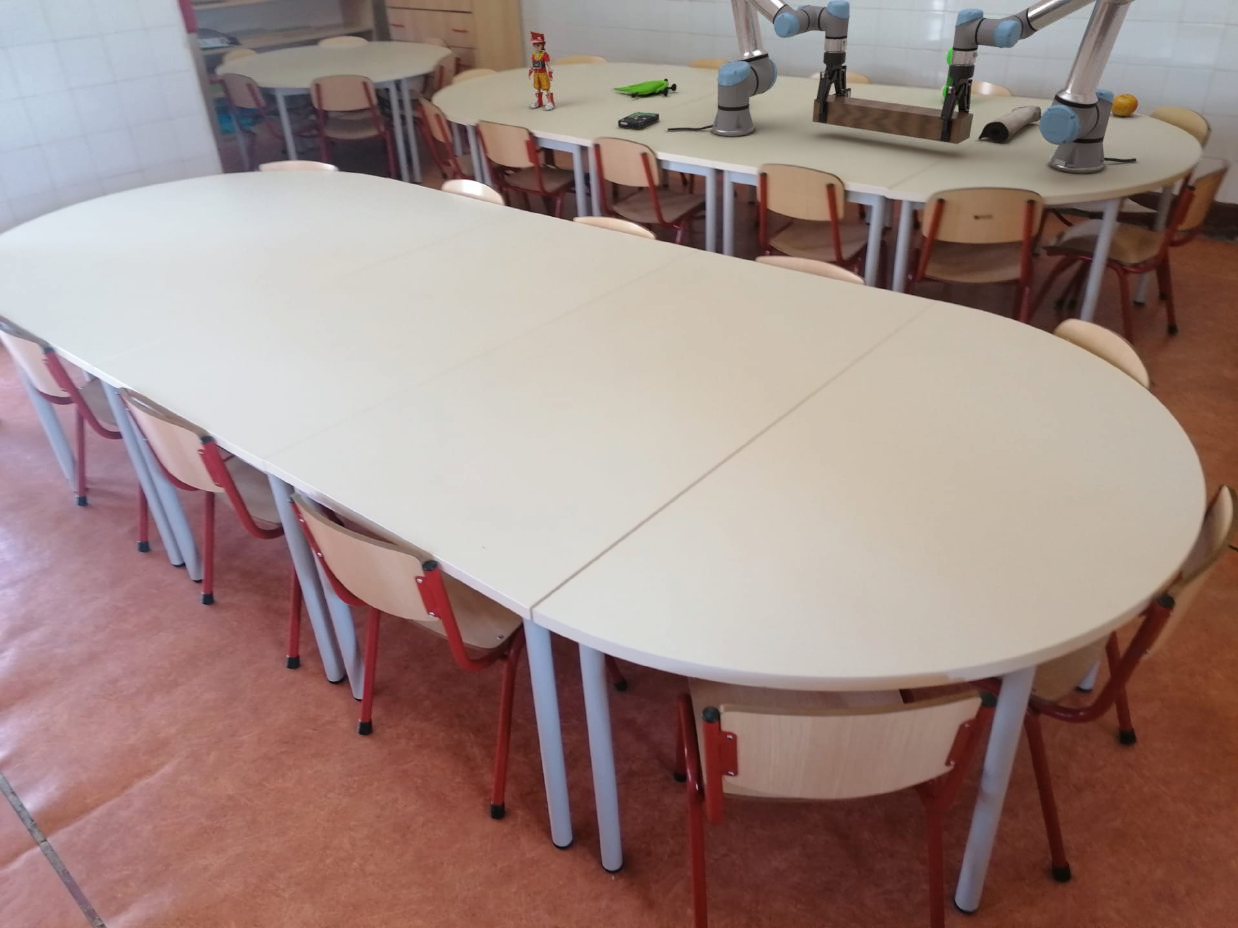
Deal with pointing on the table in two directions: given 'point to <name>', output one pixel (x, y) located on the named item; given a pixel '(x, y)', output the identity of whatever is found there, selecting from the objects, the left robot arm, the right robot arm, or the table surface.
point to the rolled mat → (1010, 123)
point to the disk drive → (638, 120)
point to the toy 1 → (541, 71)
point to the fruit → (1124, 105)
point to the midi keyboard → (848, 92)
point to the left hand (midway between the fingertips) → (829, 119)
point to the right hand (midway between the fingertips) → (951, 137)
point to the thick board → (893, 118)
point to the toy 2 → (648, 88)
